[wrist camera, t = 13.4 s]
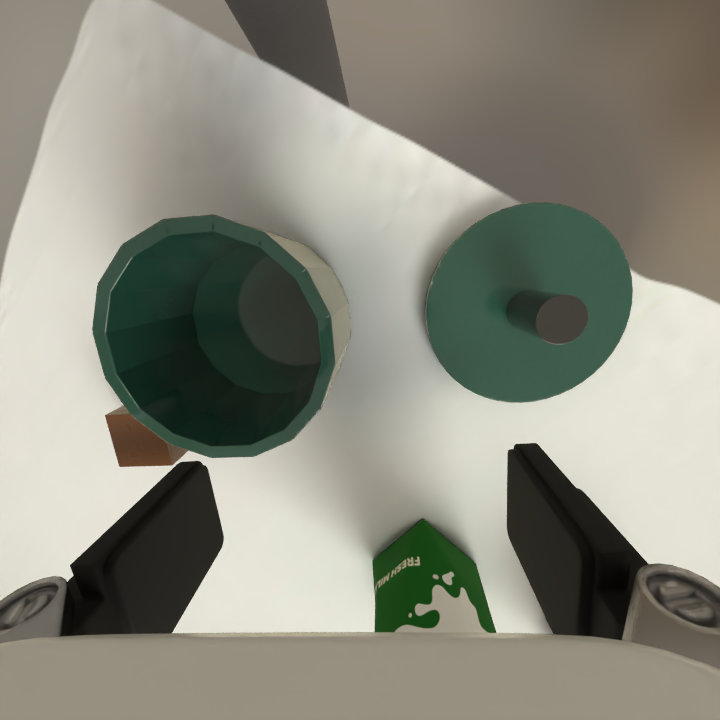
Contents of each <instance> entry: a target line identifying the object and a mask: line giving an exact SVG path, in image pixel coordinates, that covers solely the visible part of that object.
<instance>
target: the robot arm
mask: <svg viewBox="0 0 720 720" xmlns="http://www.w3.org/2000/svg"><path fill="white" fill-rule="evenodd" d="M507 531H508V536H509V539H510V541H511V544H512V546H513V548H514V550H515V552H516V554H517V557H518V559H519V561H520V563H521V565H522V567H523V569H524V572H525V574H526V576H527V578H528V580H529V582H530V585H531V587H532V589H533V591H534V593H535V595H536V597H537V600H538V602H539V604H540V606H541V608H542V610H543V613H544V615H545V617H546V619H547V621H548V623H549V626H550V628H551V630H552V632H553V634H529V633H447V632H290V633H172V632H173V630H174V628H175V627H176V625H177V623H178V621H179V620H180V618H181V616H182V615H183V613H184V611H185V610H186V608H187V606H188V604H189V603H190V601H191V599H192V598H193V596H194V594H195V592H196V591H197V589H198V587H199V586H200V584H201V582H202V580H203V579H204V577H205V575H206V574H207V572H208V570H209V569H210V567H211V565H212V563H213V562H214V560H215V558H216V557H217V555H218V553H219V551H220V550H221V548H222V545H223V540H224V536H223V531H222V527H221V523H220V519H219V514H218V510H217V506H216V502H215V498H214V493H213V489H212V485H211V481H210V477H209V472H208V469H207V467H206V466H204V465H203V464H202V463H201V462H200V461H191V462H180V463H179V464H177V465H176V466H175V467H174V468H173V469H172V470H171V471H170V472H169V473H168V474H167V475H166V476H165V477H164V478H162V479H161V480H160V481H159V482H158V483H157V484H156V485H155V486H154V487H153V488H152V489H151V490H150V491H149V492H148V493H147V494H145V495H144V496H143V497H142V498H141V499H140V500H139V501H138V502H137V503H136V504H135V505H134V506H133V507H132V508H131V509H130V510H128V511H127V512H126V513H125V514H124V515H123V516H122V517H121V518H120V519H119V520H118V521H117V522H116V523H115V524H114V525H112V526H111V527H110V528H109V529H108V530H107V531H106V532H105V533H104V534H103V535H102V536H101V537H100V538H99V539H98V540H97V541H95V542H94V543H93V544H92V545H91V546H90V547H89V548H88V549H87V550H86V551H85V552H84V553H83V554H82V555H81V556H80V557H78V558H77V559H76V560H75V561H74V562H73V563H72V564H71V565H70V567H71V569H72V572H73V575H74V576H73V577H72V578H71V579H70V580H69V581H68V582H67V581H66V580H65V579H64V578H62V577H57V576H52V577H47V578H42V579H40V580H37V581H34V582H32V583H29V584H27V585H25V586H23V587H21V588H19V589H17V590H16V591H14V592H13V593H11V594H10V595H8V596H7V597H5V598H4V599H2V600H1V601H0V720H720V587H718V586H716V585H715V584H713V583H712V582H710V581H709V580H707V579H705V578H704V577H702V576H699V575H697V574H695V573H693V572H691V571H689V570H686V569H683V568H679V567H676V566H673V565H666V564H648V563H647V562H646V561H645V560H644V559H643V558H642V556H641V555H640V554H639V553H638V552H637V551H636V550H635V549H634V548H633V546H632V545H631V544H630V543H629V542H628V541H627V540H626V539H625V538H624V536H623V535H622V534H621V533H620V532H619V531H618V530H617V529H616V527H615V526H614V525H613V524H612V523H611V522H610V521H609V520H608V519H607V517H606V516H605V515H604V514H603V513H602V512H601V511H600V510H599V508H598V507H597V506H596V505H595V504H594V503H593V502H592V501H591V500H590V498H589V497H588V496H587V495H586V494H585V493H584V492H583V491H582V490H581V489H577V488H576V487H575V486H574V485H573V484H572V483H571V482H570V481H569V479H568V478H567V477H566V476H565V475H564V474H563V473H562V472H561V470H560V469H559V468H558V467H557V466H556V465H555V464H554V462H553V461H552V460H551V459H550V458H549V457H548V456H547V454H546V453H545V452H544V451H543V450H542V449H541V448H540V446H539V445H538V444H536V443H530V444H516V445H515V446H514V449H511V450H508V475H507Z"/></svg>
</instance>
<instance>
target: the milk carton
mask: <svg viewBox="0 0 720 720" xmlns="http://www.w3.org/2000/svg"><path fill="white" fill-rule="evenodd" d="M373 575H374V590H375V632H447V633H496V630H495V627H494V624H493V620H492V617H491V614H490V611H489V607H488V604H487V600H486V597H485V593H484V590H483V586H482V583H481V580H480V576H479V573H478V570H477V566H476V563H475V562H473V561H472V560H471V559H470V558H469V557H467V556H466V555H465V554H464V553H463V552H462V551H460V550H459V549H458V548H457V547H456V546H454V545H453V544H452V543H451V542H450V541H449V540H447V539H446V538H445V537H444V536H443V535H441V534H440V533H439V532H438V531H437V530H436V529H434V528H433V527H432V526H431V525H430V524H428V523H427V522H426V521H425V520H424V519H422V520H421V521H420V522H418V523H417V524H416V525H415V526H414V527H412V528H411V529H410V530H409V531H408V532H406V533H405V534H404V535H403V536H402V537H400V538H399V539H398V540H397V541H396V542H394V543H393V544H392V545H391V546H390V547H388V548H387V549H386V550H385V551H384V552H382V553H381V554H380V555H379V556H378V557H376V558H375V559H374V560H373Z"/></svg>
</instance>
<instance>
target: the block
mask: <svg viewBox="0 0 720 720" xmlns="http://www.w3.org/2000/svg"><path fill="white" fill-rule="evenodd" d="M105 417H106V420H107V424H108V428H109V431H110V435H111V438H112V442H113V445H114V449H115V453H116V456H117V460H118V463H119V466H120V467H129V466H168V465H173V464H174V463H175V462H176V461H178V460H179V459H180V458H181V457H182V456H183V455H184V454H185V453H186V452H187V451H188V450H186V449H183V448H180V447H177V446H174V445H171V444H169V443H167V442H166V441H164V440H163V439H162V438H160V437H159V436H158V435H156V434H155V433H154V432H152V431H151V430H150V429H148V428H147V427H146V426H144V425H143V424H142V423H141V422H139V421H138V420H137V419H135V418H134V417H133V416H131V415H130V413H129V412H128V410H127V409H126V407H125V406H122V407H120V408H118V409H116V410H114V411H112V412H110V413H109V414H107V415H105Z"/></svg>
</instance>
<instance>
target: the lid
mask: <svg viewBox="0 0 720 720" xmlns="http://www.w3.org/2000/svg"><path fill="white" fill-rule="evenodd" d="M632 292H633V289H632V277H631V272H630V268H629V264H628V261H627V259H626V256H625V254H624V251H623V250H622V248H621V246H620V245H619V243H618V241H617V240H616V239H615V237H614V236H613V235H612V234H611V232H610V231H609V230H608V229H607V228H606V227H604V226H603V225H602V224H601V223H600V222H599V221H598V220H596V219H594V218H593V217H591V216H590V215H588V214H587V213H584V212H582V211H580V210H577V209H575V208H572V207H569V206H565V205H561V204H554V203H528V204H521V205H516V206H512V207H509V208H506V209H502V210H500V211H498V212H496V213H493V214H491V215H489V216H487V217H485V218H484V219H482V220H480V221H479V222H477V223H475V224H474V225H473V226H471V227H470V228H469V229H467V230H466V231H465V232H464V233H463V234H462V235H461V236H460V237H458V238H457V239H456V240H455V241H454V242H453V244H452V245H451V246H450V247H449V249H448V250H447V251H446V253H445V254H444V256H443V257H442V259H441V260H440V262H439V264H438V265H437V268H436V270H435V272H434V274H433V276H432V279H431V282H430V286H429V289H428V293H427V299H426V311H425V317H426V328H427V332H428V337H429V340H430V343H431V346H432V348H433V351H434V353H435V354H436V356H437V358H438V360H439V362H440V363H441V364H442V366H443V367H444V368H445V370H446V371H447V372H448V373H449V374H450V375H451V376H452V377H453V378H454V379H455V380H456V381H457V382H458V383H460V384H461V385H462V386H464V387H465V388H467V389H469V390H470V391H472V392H474V393H476V394H478V395H481V396H483V397H486V398H489V399H493V400H497V401H503V402H518V403H522V402H533V401H538V400H543V399H547V398H550V397H553V396H556V395H559V394H561V393H563V392H566V391H568V390H570V389H572V388H573V387H575V386H577V385H578V384H580V383H582V382H583V381H584V380H586V379H587V378H588V377H590V376H591V375H592V374H593V373H594V372H595V371H596V370H597V369H599V368H600V367H601V366H602V365H603V364H604V362H605V361H606V360H607V359H608V357H609V356H610V355H611V354H612V352H613V351H614V349H615V348H616V346H617V344H618V343H619V341H620V339H621V337H622V335H623V333H624V331H625V328H626V325H627V322H628V319H629V315H630V310H631V305H632Z"/></svg>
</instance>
